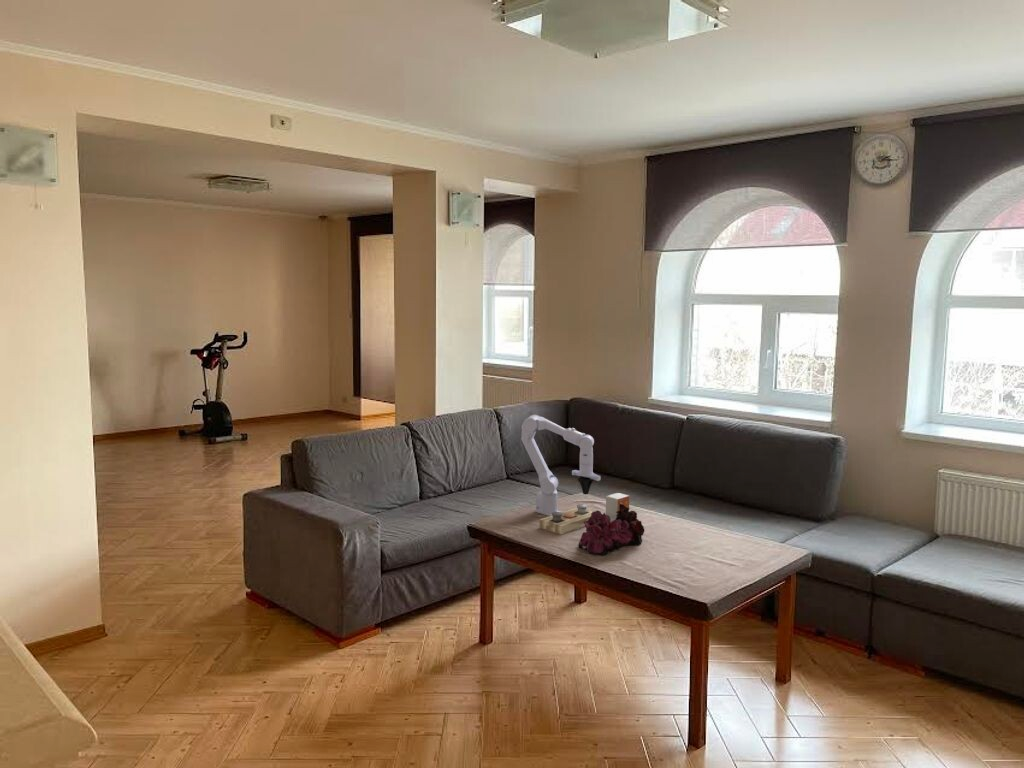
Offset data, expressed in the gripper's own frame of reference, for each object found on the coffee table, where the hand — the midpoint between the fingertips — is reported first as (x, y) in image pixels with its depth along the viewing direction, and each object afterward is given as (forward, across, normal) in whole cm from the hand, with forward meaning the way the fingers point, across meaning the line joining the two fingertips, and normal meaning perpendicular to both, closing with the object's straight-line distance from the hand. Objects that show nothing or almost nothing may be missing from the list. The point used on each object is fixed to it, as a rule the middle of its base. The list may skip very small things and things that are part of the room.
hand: (585, 493), depth 322 cm
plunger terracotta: (+9, -3, +14) cm, 17 cm away
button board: (+10, -3, +14) cm, 17 cm away
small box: (+10, -18, +1) cm, 21 cm away
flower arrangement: (+10, -31, +21) cm, 39 cm away
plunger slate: (+7, -3, +6) cm, 10 cm away
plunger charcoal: (+7, -3, +22) cm, 23 cm away
